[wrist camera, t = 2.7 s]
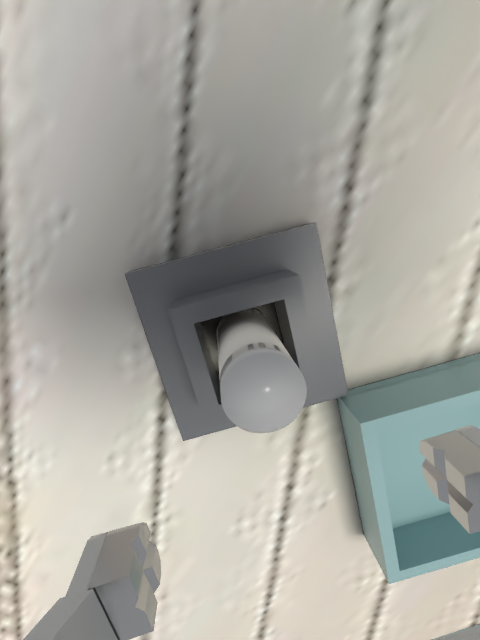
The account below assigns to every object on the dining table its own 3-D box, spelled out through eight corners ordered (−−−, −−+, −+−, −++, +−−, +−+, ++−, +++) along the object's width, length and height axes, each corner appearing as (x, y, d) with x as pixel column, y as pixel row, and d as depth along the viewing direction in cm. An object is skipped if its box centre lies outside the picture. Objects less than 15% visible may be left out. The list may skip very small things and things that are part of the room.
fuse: (262, 300, 24) (297, 343, 15) (274, 350, 26) (314, 420, 16) (210, 315, 24) (210, 367, 15) (224, 364, 25) (233, 442, 16)
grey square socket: (309, 223, 23) (332, 221, 19) (340, 386, 27) (366, 415, 22) (130, 271, 23) (111, 280, 19) (184, 429, 27) (179, 468, 22)
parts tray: (511, 344, 27) (568, 365, 23) (516, 490, 31) (566, 532, 27) (335, 393, 27) (360, 423, 23) (363, 534, 31) (389, 583, 27)
